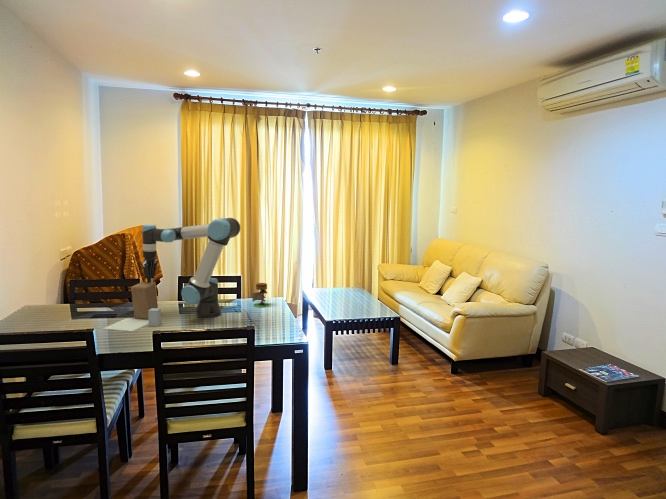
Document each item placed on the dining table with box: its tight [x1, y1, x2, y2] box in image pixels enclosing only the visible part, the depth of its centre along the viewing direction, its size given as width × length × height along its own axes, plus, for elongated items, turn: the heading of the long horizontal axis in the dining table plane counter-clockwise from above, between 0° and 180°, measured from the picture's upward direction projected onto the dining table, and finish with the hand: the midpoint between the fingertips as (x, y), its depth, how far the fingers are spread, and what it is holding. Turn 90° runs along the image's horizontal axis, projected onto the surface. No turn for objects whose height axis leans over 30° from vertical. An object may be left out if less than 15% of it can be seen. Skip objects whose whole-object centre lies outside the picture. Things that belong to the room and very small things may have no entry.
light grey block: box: [147, 307, 162, 327], centre depth 236 cm, size 5×5×9 cm
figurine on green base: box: [251, 282, 270, 308], centre depth 284 cm, size 12×13×15 cm
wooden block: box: [130, 281, 159, 320], centre depth 248 cm, size 10×10×20 cm
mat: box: [102, 317, 149, 333], centre depth 234 cm, size 18×20×1 cm
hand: (150, 288), depth 253 cm, fingers closed
